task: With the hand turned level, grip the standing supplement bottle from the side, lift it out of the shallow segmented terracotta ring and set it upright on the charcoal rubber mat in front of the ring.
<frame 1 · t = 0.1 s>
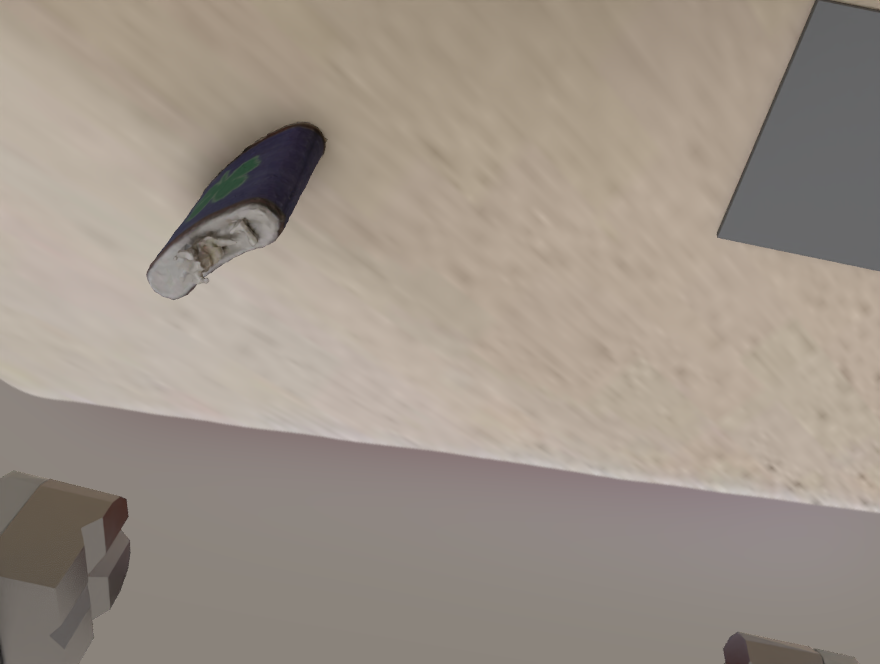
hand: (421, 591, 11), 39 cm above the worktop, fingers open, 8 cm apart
mat: (869, 149, 46), on the worktop
flask: (264, 167, 52), on the worktop
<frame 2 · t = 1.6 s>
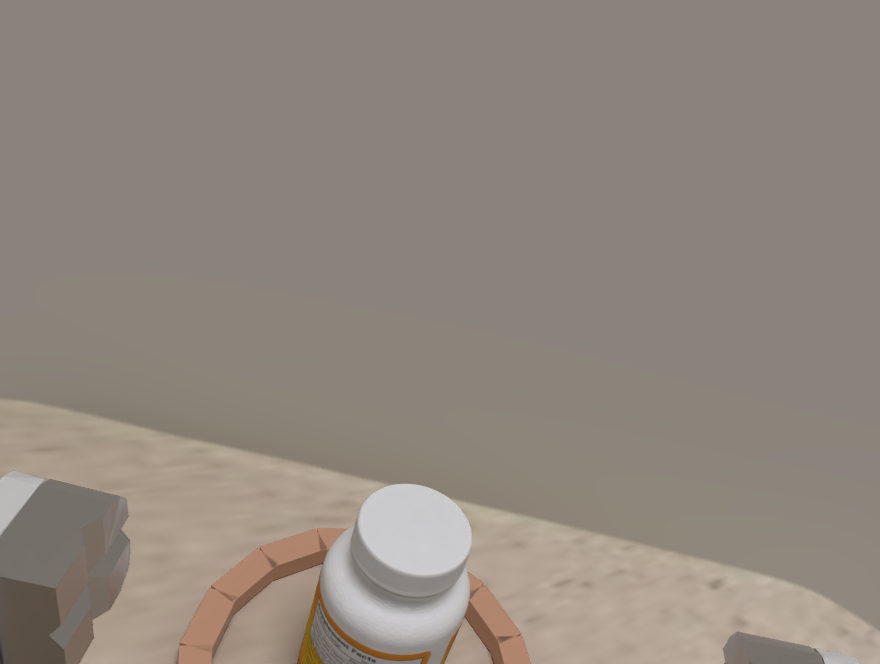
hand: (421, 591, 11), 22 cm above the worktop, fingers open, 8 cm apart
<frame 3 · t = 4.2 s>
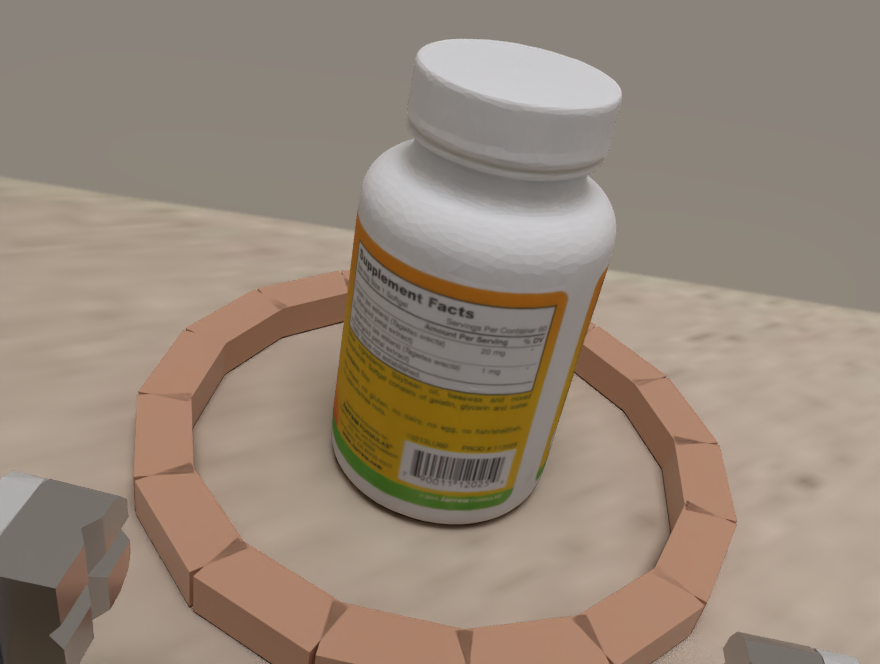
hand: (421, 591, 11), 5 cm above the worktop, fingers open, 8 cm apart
segmented terracotta ring: (436, 450, 21), on the worktop
supplement bottle: (434, 456, 21), resting in segmented terracotta ring
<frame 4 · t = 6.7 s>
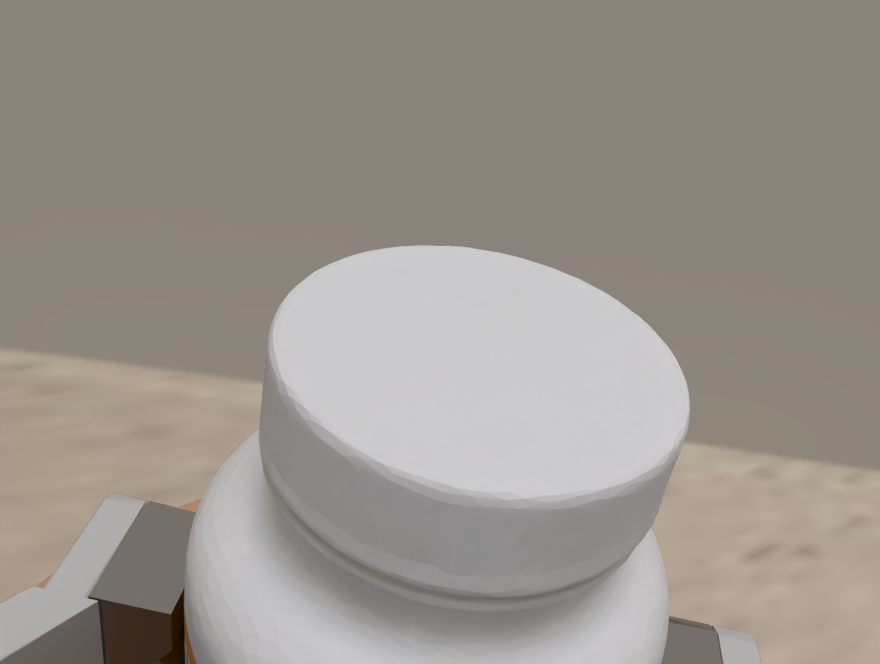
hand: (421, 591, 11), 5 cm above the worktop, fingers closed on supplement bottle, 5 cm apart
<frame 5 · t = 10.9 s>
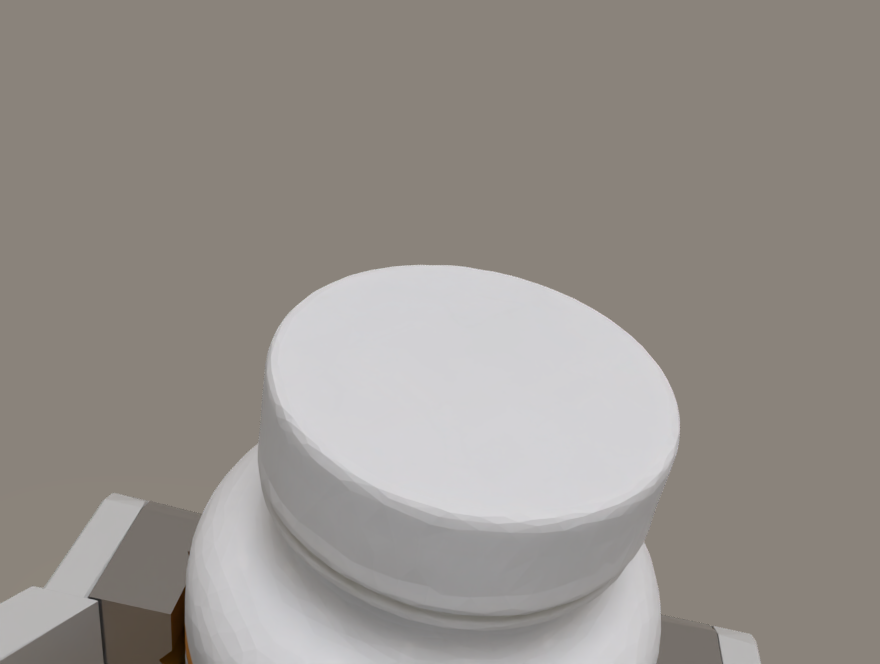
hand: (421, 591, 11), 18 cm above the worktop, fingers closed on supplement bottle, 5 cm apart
when the fingers open (7 cm above the worktop, at t = 15.2 s): supplement bottle stays where it is, resting on mat.
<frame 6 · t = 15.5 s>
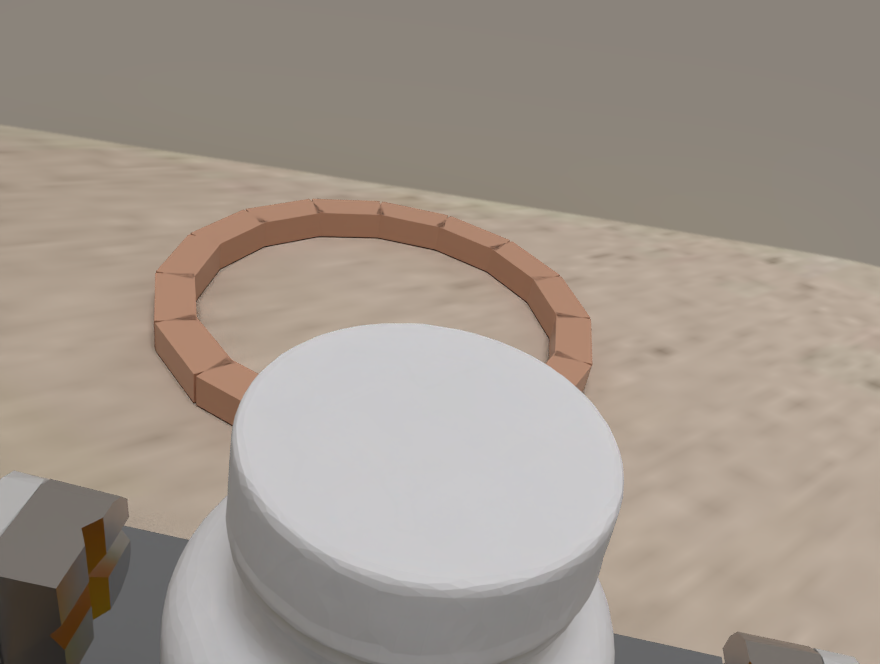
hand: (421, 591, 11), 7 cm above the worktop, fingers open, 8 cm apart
segmented terracotta ring: (377, 321, 28), on the worktop
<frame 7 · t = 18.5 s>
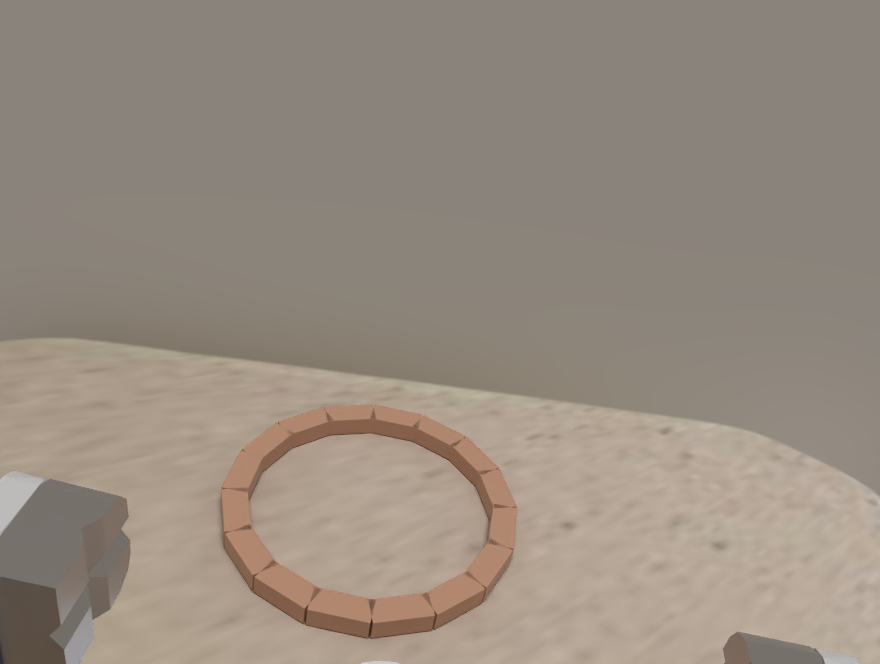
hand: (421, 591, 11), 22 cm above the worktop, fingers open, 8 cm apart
segmented terracotta ring: (370, 512, 41), on the worktop
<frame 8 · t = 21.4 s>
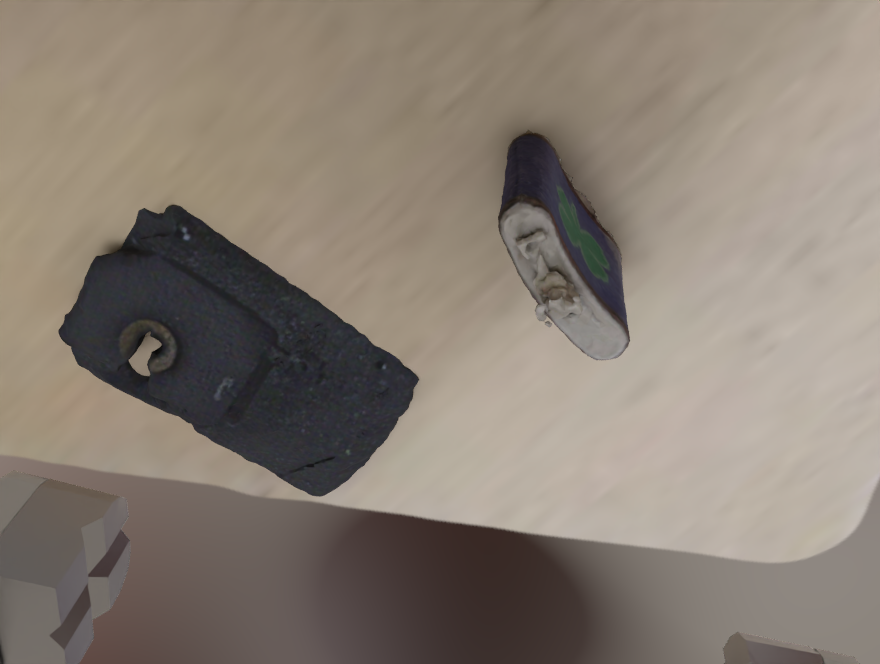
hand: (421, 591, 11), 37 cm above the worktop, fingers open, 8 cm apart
flask: (563, 204, 48), on the worktop
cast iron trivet: (245, 355, 57), on the worktop
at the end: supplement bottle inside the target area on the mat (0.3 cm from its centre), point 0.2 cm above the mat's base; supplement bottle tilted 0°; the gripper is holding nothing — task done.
